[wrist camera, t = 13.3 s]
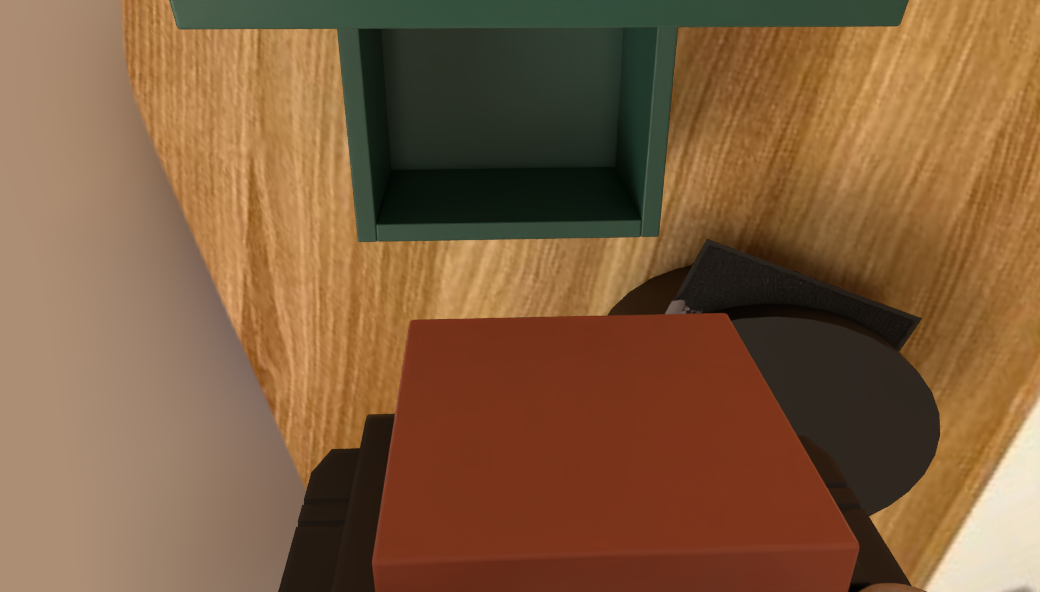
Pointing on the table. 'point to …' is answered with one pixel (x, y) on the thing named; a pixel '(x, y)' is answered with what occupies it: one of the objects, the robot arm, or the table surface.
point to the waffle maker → (817, 362)
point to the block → (599, 464)
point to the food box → (507, 131)
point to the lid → (532, 13)
